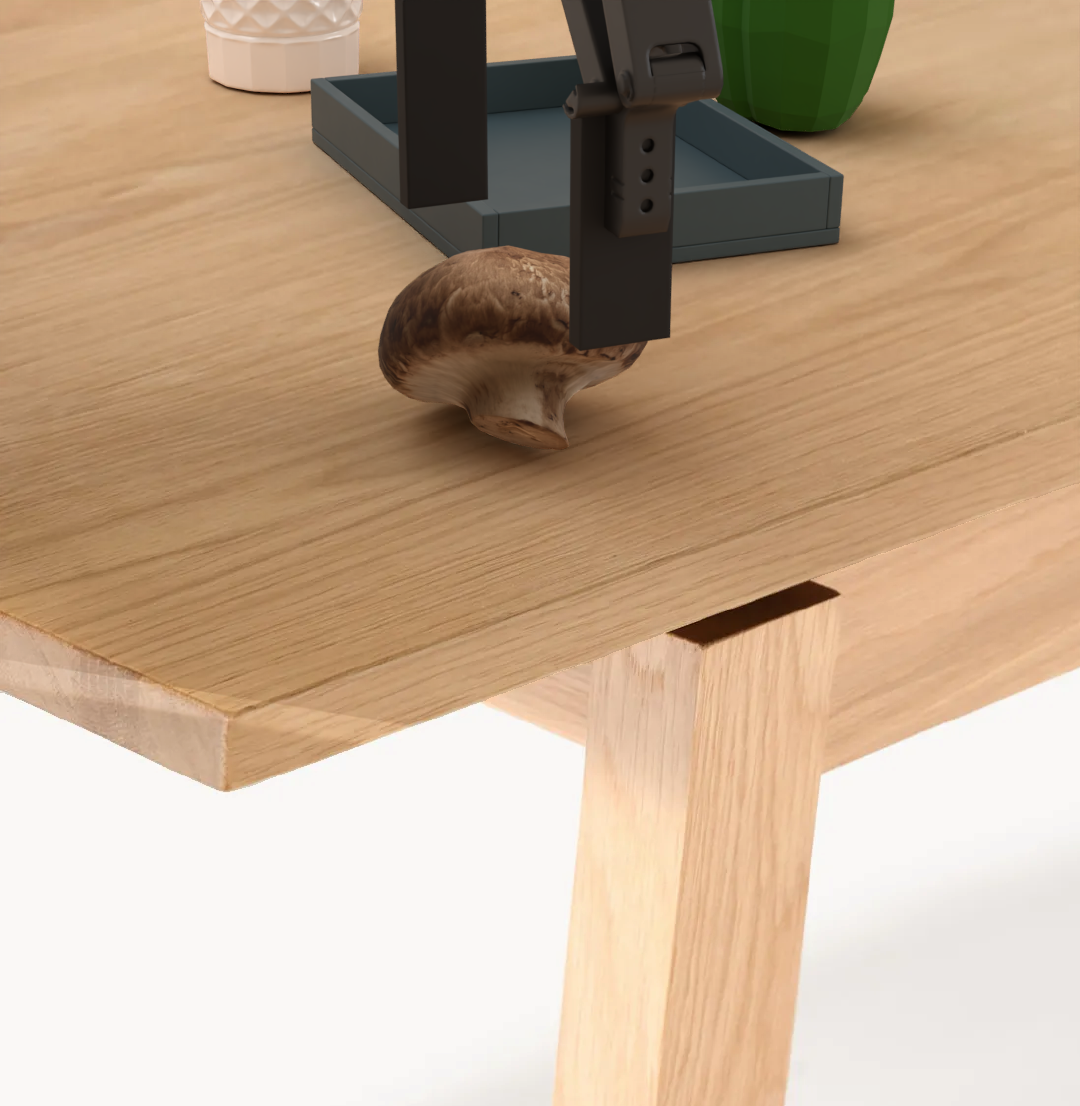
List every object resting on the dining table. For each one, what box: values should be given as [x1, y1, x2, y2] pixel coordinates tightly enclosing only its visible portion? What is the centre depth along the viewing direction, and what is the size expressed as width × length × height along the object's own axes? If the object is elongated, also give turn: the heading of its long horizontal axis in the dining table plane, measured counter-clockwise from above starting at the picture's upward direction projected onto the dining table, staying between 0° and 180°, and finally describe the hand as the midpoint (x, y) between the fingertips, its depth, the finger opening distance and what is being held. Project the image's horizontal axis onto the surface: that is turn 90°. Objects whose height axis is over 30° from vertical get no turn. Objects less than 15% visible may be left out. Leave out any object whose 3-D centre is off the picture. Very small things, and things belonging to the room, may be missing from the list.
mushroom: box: [377, 246, 649, 451], centre depth 76 cm, size 8×8×6 cm
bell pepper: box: [711, 0, 896, 133], centre depth 106 cm, size 8×8×10 cm
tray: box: [310, 54, 845, 264], centre depth 98 cm, size 14×19×3 cm
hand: (525, 266), depth 75 cm, fingers open, 13 cm apart
